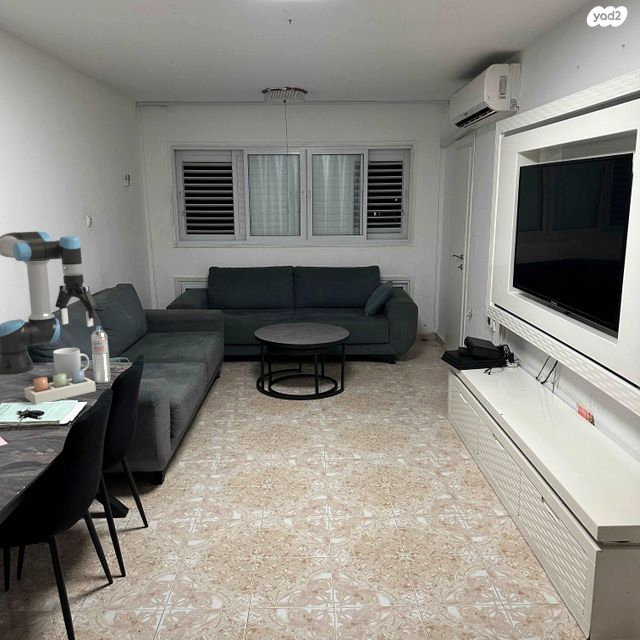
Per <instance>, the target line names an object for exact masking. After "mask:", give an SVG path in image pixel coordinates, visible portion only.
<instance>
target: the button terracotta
mask: <svg viewBox="0 0 640 640" xmlns="http://www.w3.org/2000/svg"><path fill="white" fill-rule="evenodd" d="M32 380H33V386H34V391H35V392H36V393H37V392H41V391H46V390H48V377H46V376H40V377H39V376H38V377H35V378H33V379H32Z"/></svg>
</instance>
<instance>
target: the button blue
mask: <svg viewBox="0 0 640 640" xmlns="http://www.w3.org/2000/svg"><path fill="white" fill-rule="evenodd" d="M71 376H72V384H78V383H83V382H85V377H86V376H85V371H84V370H82V369H80V370H74V371H72V372H71Z"/></svg>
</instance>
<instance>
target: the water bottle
mask: <svg viewBox="0 0 640 640" xmlns="http://www.w3.org/2000/svg"><path fill="white" fill-rule="evenodd" d="M101 328H102V327H101V325H97V326H95V330H94V331H93V332H92V334H91V336H90V340H91V342H90V343H91V354H92V356H91V357H92V368H93V379H94V380H93V381H94V382H95V384H106V383H109V382H111V369H110V368H111V366H110V353H109V344H108V343H109V342H108V337H109V336H108V334H107V332H105V331H104V330H103V329H101Z"/></svg>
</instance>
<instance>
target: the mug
mask: <svg viewBox="0 0 640 640" xmlns="http://www.w3.org/2000/svg"><path fill="white" fill-rule="evenodd" d="M52 354H53V365H54V369H55V372H56V374H59V373H64V374H66V380H67V379H72V376H71V372H72V371H74V370H84V372H85V371H86V370H87V369H88V368H89V366H90V359H89V357H88V355H86V353H81V350H80V348H78V347H65V348H58V349H56V350H54V351H52ZM81 357H84V358H85V359H86V365H85V366H84V367H83V368H81V366H82V365H81V361H82V360H81V359H82V358H81Z"/></svg>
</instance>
